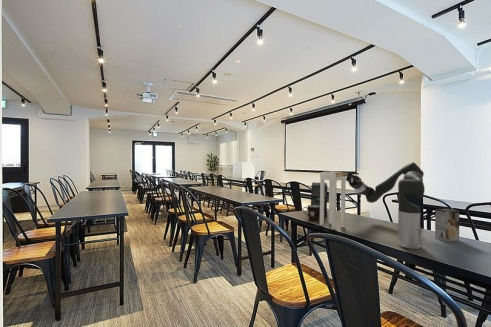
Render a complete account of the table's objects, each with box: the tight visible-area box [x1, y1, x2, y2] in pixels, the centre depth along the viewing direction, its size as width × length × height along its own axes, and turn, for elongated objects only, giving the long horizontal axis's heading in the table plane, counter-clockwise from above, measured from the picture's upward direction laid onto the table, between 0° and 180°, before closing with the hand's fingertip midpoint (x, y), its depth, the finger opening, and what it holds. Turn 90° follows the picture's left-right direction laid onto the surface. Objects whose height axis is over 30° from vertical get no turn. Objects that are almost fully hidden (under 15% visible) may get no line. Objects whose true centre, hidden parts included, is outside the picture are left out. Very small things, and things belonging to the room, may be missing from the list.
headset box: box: [310, 181, 329, 218], centre depth 199 cm, size 22×12×26 cm, turn 164°
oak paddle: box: [323, 170, 348, 177], centre depth 166 cm, size 9×19×3 cm, turn 118°
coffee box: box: [434, 208, 460, 242], centre depth 138 cm, size 9×6×16 cm
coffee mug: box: [302, 204, 320, 222], centre depth 180 cm, size 12×9×10 cm
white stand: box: [319, 171, 347, 230], centre depth 163 cm, size 12×10×34 cm
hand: (343, 173), depth 167 cm, fingers open, 7 cm apart
